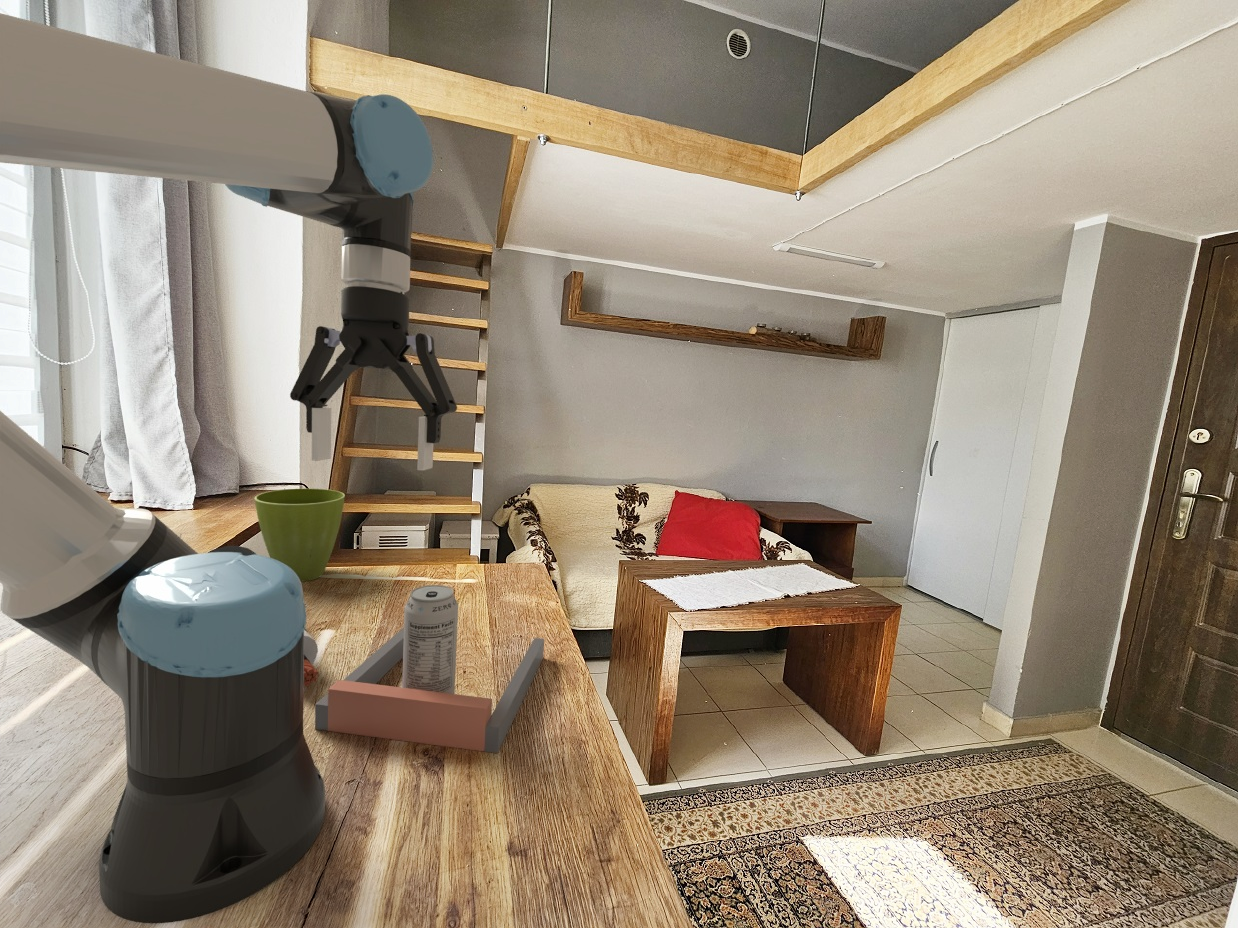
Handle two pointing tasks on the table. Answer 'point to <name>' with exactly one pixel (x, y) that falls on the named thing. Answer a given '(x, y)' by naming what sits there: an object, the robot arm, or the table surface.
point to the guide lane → (422, 705)
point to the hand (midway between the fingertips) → (372, 464)
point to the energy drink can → (430, 639)
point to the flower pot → (300, 527)
